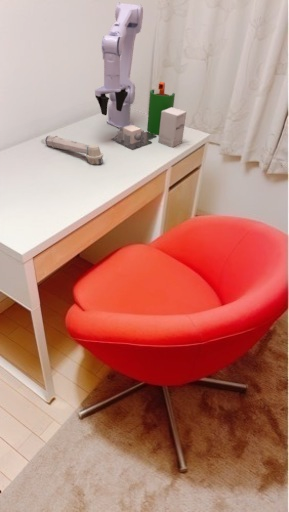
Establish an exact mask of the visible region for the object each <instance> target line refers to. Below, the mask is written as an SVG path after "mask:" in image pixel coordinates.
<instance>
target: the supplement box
mask: <svg viewBox="0 0 289 512" xmlns="http://www.w3.org/2000/svg"><path fill="white" fill-rule="evenodd" d="M186 117H187V111H186V110H182V109H179V108H175V107H174V106H173V107H171V108H168V109H166V110H163V111H162V112H161V121H160V130H159V135H158V140H157V141H158V143H159V144H163V145H164V146H168V147H169V148H174V147H175V146H177V145H179V144H182V143H183V138H184V131H185V126H186V125H185V124H186V119H187V118H186Z"/></svg>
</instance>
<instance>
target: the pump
mask: <svg viewBox="0 0 289 512" xmlns="http://www.w3.org/2000/svg"><path fill="white" fill-rule="evenodd" d="M141 130H142V128H140V127H138V126H136V125H135V124H134V125H130V126H127V127H123V140H124V135H125V134H128V135H130V144H133V143H136V142H139V141H140V139H141Z"/></svg>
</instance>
